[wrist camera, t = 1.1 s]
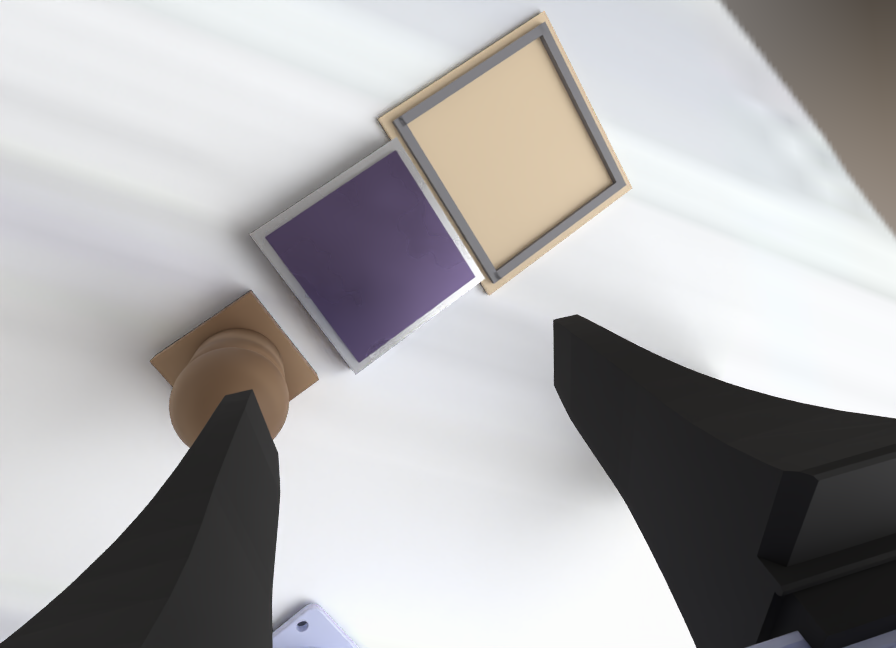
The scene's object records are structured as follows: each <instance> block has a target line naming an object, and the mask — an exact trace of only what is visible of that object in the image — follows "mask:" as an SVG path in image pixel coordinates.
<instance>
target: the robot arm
mask: <svg viewBox="0 0 896 648" xmlns="http://www.w3.org/2000/svg"><path fill="white" fill-rule="evenodd" d="M553 330H554V386H555V388H556V391H557V393H558V395H559V397H560V399H561V401H562V403H563V405H564V407H565V409H566V411H567V413H568V415H569V417H570V419H571V421H572V422H573V424H574V425H575V427H576V428H577V430H578V431H579V433H580V434H581V436H582V437H583V439H584V440H585V442H586V443H587V445H588V446H589V448H590V449H591V451H592V452H593V454H594V455H595V457H596V458H597V460H598V461H599V463H600V464H601V466H602V467H603V469H604V470H605V472H606V473H607V475H608V476H609V478H610V479H611V481H612V482H613V483H614V485H615V486H616V488H617V489H618V491H619V493H620V494H621V496H622V498H623V499H624V501H625V503H626V504H627V506H628V508H629V510H630V512H631V514H632V515H633V517H634V519H635V521H636V523H637V525H638V527H639V529H640V531H641V532H642V534H643V536H644V538H645V540H646V542H647V544H648V546H649V548H650V550H651V552H652V554H653V556H654V558H655V560H656V562H657V564H658V566H659V568H660V570H661V572H662V574H663V576H664V578H665V580H666V582H667V584H668V586H669V589H670V591H671V593H672V595H673V597H674V599H675V601H676V603H677V606H678V608H679V610H680V612H681V614H682V616H683V618H684V620H685V623H686V625H687V627H688V629H689V632H690V634H691V636H692V638H693V641H694V643H695V645H696V648H896V419H895V418H888V417H881V416H874V415H867V414H860V413H853V412H846V411H840V410H834V409H829V408H824V407H819V406H814V405H809V404H804V403H799V402H795V401H791V400H787V399H782V398H778V397H774V396H771V395H767V394H763V393H760V392H756V391H752V390H749V389H745V388H742V387H739V386H736V385H732V384H729V383H726V382H724V381H721V380H718V379H715V378H712V377H709V376H707V375H704V374H701V373H698V372H696V371H693V370H691V369H688V368H686V367H683V366H681V365H679V364H677V363H674V362H672V361H670V360H667V359H665V358H663V357H661V356H658V355H656V354H654V353H652V352H650V351H648V350H646V349H644V348H642V347H640V346H638V345H636V344H634V343H632V342H630V341H628V340H626V339H624V338H622V337H620V336H618V335H616V334H614V333H613V332H611V331H609V330H607V329H605V328H603V327H601V326H599V325H597V324H595V323H594V322H592V321H590V320H588V319H586V318H584V317H581V316H579V315H572V316H568V317H564V318H559V319H555V320H553ZM279 503H280V476H279V459H278V452H277V449H276V447H275V444H274V442H273V439H272V437H271V434H270V432H269V429H268V427H267V424H266V422H265V419H264V417H263V414H262V412H261V409H260V407H259V404H258V402H257V399H256V397H255V394H254V392H253V389H251V390H246V391H242V392H237V393H233V394H229V395H225V396H224V398H223V399H222V401H221V402H220V403H219V405H218V406H217V408H216V409H215V411H214V412H213V414H212V415H211V417H210V419H209V420H208V422H207V423H206V425H205V426H204V428H203V429H202V431H201V432H200V434H199V435H198V437H197V438H196V440H195V441H194V443H193V444H192V446H191V447H190V449H189V450H188V452H187V453H186V455H185V456H184V457H183V459H182V460H181V462H180V463H179V465H178V466H177V467H176V469H175V470H174V471H173V473H172V474H171V475H170V477H169V478H168V479H167V481H166V482H165V483H164V485H163V486H162V487H161V489H160V490H159V491H158V492H157V494H156V495H155V496H154V498H153V499H152V500H151V501H150V502H149V504H148V505H147V506H146V507H145V508H144V510H143V511H142V512H141V513H140V514H139V515H138V517H137V518H136V519H135V520H134V521H133V522H132V523H131V524H130V525H129V527H128V528H127V529H126V530H125V531H124V532H123V533H122V534H121V535H120V536H119V538H118V539H117V540H116V541H115V542H114V543H113V544H112V545H111V546H110V547H109V548H108V549H107V550H106V551H105V552H104V553H103V554H102V555H101V556H100V557H99V558H97V559H96V560H95V561H94V562H93V563H92V564H91V565H90V566H89V567H88V568H87V569H86V570H85V571H84V572H83V573H82V574H81V575H80V576H79V577H78V578H77V579H76V580H75V581H74V582H73V583H72V584H71V585H69V586H68V587H67V588H66V589H65V590H64V591H63V592H62V593H60V594H59V595H58V596H57V597H56V598H55V599H54V600H53V601H51V602H50V603H49V604H48V605H47V606H46V607H45V608H43V609H42V610H41V611H40V612H39V613H37V614H36V615H35V616H34V617H33V618H31V619H30V620H29V621H28V622H27V623H25V624H24V625H23V626H22V627H21V628H19V629H18V630H17V631H16V632H14V633H13V634H12V635H11V636H9V637H8V638H7V639H6V640H4V641H3V642H2V643H0V648H359V647H358V646H357V645H356V644H355V643H354V642H353V640H352V639H351V638H350V637H349V636H348V635H347V634H346V633H345V632H344V631H343V630H342V629H341V628H340V627H339V626H338V625H337V623H336V622H335V621H334V620H333V619H332V618H331V617H330V616H329V615H328V614H327V613H326V612H325V611H324V610H323V609H322V607H321V606H319V605H318V604H308V605H307V606H305V607H303V608H302V609H301V610H300V611H299V612H297V613H296V614H295V615H294V616H292V617H291V618H290V619H289V620H288V621H286V622H285V623H284V624H283V625H281V626H280V627H279V628H278V629H276V630H275V631H274V632H273V633H272V588H273V575H274V563H275V551H276V540H277V528H278V516H279ZM301 621H306V622H307V623H306V624H305V625H303V626H298V625H297V624H298V623H299V622H301Z"/></svg>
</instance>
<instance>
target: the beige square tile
mask: <svg viewBox="0 0 896 648" xmlns="http://www.w3.org/2000/svg"><path fill="white" fill-rule="evenodd" d="M378 121H379V122H380V124H381V125H382V127H383V129H384V130H385V132H386V133H387V135H388V137H389V138H390V140H392V139H394V138H396V137H397V138H398V140H399V141H400V143H401V145H402V146H403V148H404V149H405V151H406V153H407V154H408V156H409V157H410V159H411V161H412V162H413V164H414V166H415V167H416V169H417V170H418V172H419V174H420V175H421V177H422V178H423V180H424V182H425V183H426V185H427V186H428V188H429V190H430V191H431V193H432V194H433V196H434V198H435V199H436V201H437V202H438V204H439V206H440V207H441V209H442V210H443V212H444V214H445V215H446V217H447V218H448V220H449V222H450V223H451V225H452V226H453V228H454V230H455V231H456V233H457V234H458V236H459V238H460V239H461V241H462V242H463V244H464V246H465V247H466V249H467V251H468V252H469V254H470V255H471V257H472V259H473V260H474V262H475V263H476V265H477V267H478V268H479V270H480V271H481V273H482V275H483V276H484V278H485V279H484V280H483V281H481V282H480V283H481V285H482V286H483V288H484V289H485V291H486V292H487V294H488V295H491V294H492V293H493V292H495V291H496V290H497V289H499V288H500V287H501V286H503V285H504V284H505V283H507V282H508V281H509V280H511V279H512V278H513V277H515V276H516V275H517V274H519V273H520V272H521V271H523V270H524V269H525V268H527V267H528V266H529V265H531V264H532V263H533V262H535V261H536V260H537V259H539V258H540V257H541V256H543V255H544V254H545V253H547V252H548V251H549V250H551V249H552V248H553V247H555V246H556V245H557V244H559V243H560V242H561V241H563V240H564V239H565V238H567V237H568V236H569V235H571V234H572V233H573V232H575V231H576V230H577V229H579V228H580V227H581V226H583V225H584V224H585V223H587V222H588V221H589V220H591V219H592V218H593V217H594V216H596V215H597V214H598V213H600V212H601V211H602V210H604V209H605V208H606V207H608V206H609V205H610V204H612V203H613V202H614V201H616V200H617V199H618V198H620V197H621V196H622V195H624V194H625V193H626V192H628V191H629V190H630V189H632V186H631V184H630V182H629V180H628V178H627V176H626V174H625V172H624V170H623V168H622V166H621V164H620V162H619V160H618V158H617V156H616V154H615V152H614V150H613V148H612V146H611V144H610V142H609V140H608V138H607V136H606V134H605V132H604V130H603V128H602V126H601V124H600V122H599V120H598V118H597V116H596V114H595V112H594V110H593V108H592V106H591V104H590V102H589V100H588V98H587V96H586V94H585V92H584V90H583V88H582V85H581V83H580V81H579V79H578V77H577V75H576V73H575V71H574V69H573V67H572V65H571V63H570V61H569V59H568V57H567V55H566V53H565V51H564V49H563V47H562V45H561V43H560V41H559V39H558V37H557V35H556V33H555V31H554V29H553V27H552V25H551V23H550V21H549V19H548V17H547V15H546V13H545V11H543V12H542V13H540V14H539V15H537V16H535V17H534V18H532V19H531V20H529V21H528V22H526V23H525V24H523V25H522V26H520V27H519V28H517V29H515V30H514V31H512V32H511V33H509V34H508V35H506V36H505V37H503V38H502V39H500V40H499V41H497V42H495V43H494V44H492V45H491V46H489V47H488V48H486V49H485V50H483V51H482V52H480V53H479V54H477V55H475V56H474V57H472V58H471V59H469V60H468V61H466V62H465V63H463V64H462V65H460V66H459V67H457V68H456V69H454V70H452V71H451V72H449V73H448V74H446V75H445V76H443V77H442V78H440V79H439V80H437V81H436V82H434V83H432V84H431V85H429V86H428V87H426V88H425V89H423V90H422V91H420V92H419V93H417V94H416V95H414V96H412V97H411V98H409V99H408V100H406V101H405V102H403V103H402V104H400V105H399V106H397V107H396V108H394V109H393V110H391V111H389V112H388V113H386V114H385V115H383V116H382V117H380V118H379V119H378Z"/></svg>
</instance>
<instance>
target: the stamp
mask: <svg viewBox="0 0 896 648" xmlns="http://www.w3.org/2000/svg"><path fill="white" fill-rule="evenodd" d="M150 362H151V364H152V365H153V366H154V367H155V368H156V369H157V370H158V371H159V372H160V374H161V375H162V376H163V377H164V378H165V379H166V380H167V381H168V382H169V384H170V385H171V386H172V387H173V388H172V391H171V395H170V400H169V411H170V418H171V422H172V425H173V427H174V430H175V431H176V433H177V435H178V436H179V437H180V439H181V440H182V441H183V442H184V443H185V444H186V445H187V446H188V447H189V448H190V447H191V446H192V444H193V443H194V441H195V440H196V438H197V437H198V435H199V434H200V432H201V431H202V429H203V428H204V426H205V425H206V423H207V422H208V420H209V419H210V417H211V415H212V414H213V412H214V411H215V409H216V408H217V406H218V405H219V403H220V402H221V401H222V399H223V398H224V396H225V395H229V394H233V393H237V392H242V391H246V390H251V389H253V392H254V394H255V397H256V399H257V402H258V404H259V407H260V409H261V412H262V414H263V417H264V419H265V422H266V424H267V427H268V429H269V432H270V434H271V437H272V439H274V438H275V437H276V436H277V434H278V433H279V432H280V430H281V428H282V426H283V425H284V423H285V420H286V417H287V414H288V408H289V401H291V400H292V399H293V398H295V397H296V396H297V395H299V394H300V393H301V392H303V391H304V390H306V389H307V388H308V387H310V386H311V385H312V384H314V383H315V382H316V381H318V380H319V379H318V376H317V374H316V372H315V371H314V370H313V368H312V367H311V366H310V364H309V363H308V362H307V361H306V359H305V358H304V357H303V356H302V354H301V353H300V352H299V350H298V349H297V348H296V347H295V345H294V344H293V343H292V342H291V340H290V339H289V338H288V336H287V335H286V334H285V333H284V331H283V330H282V329H281V327H280V326H279V325H278V324H277V322H276V321H275V320H274V319H273V317H272V316H271V315H270V313H269V312H268V311H267V310H266V308H265V307H264V306H263V305H262V303H261V302H260V301H259V299H258V298H257V297H256V296H255V294H254V293H253V292H252V291H251V290H250V291H249V292H247V293H246V294H245V295H243V296H242V297H240V298H239V299H237V300H236V301H234V302H233V303H231V304H230V305H228V306H227V307H225V308H224V309H223V310H221V311H220V312H218V313H217V314H215V315H214V316H212V317H211V318H209V319H208V320H206V321H205V322H204V323H202V324H201V325H199V326H198V327H196V328H195V329H193V330H192V331H190V332H189V333H187V334H186V335H184V336H183V337H182V338H180V339H179V340H177V341H176V342H174V343H173V344H171V345H170V346H168V347H167V348H165V349H164V350H163V351H161V352H160V353H158V354H157V355H155V356H154V357H153V358H152V360H151V361H150Z"/></svg>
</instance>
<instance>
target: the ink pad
mask: <svg viewBox="0 0 896 648" xmlns="http://www.w3.org/2000/svg"><path fill="white" fill-rule="evenodd" d="M249 235H250V236H251V237H252V239H253V240H254V241H255V243H256V244H257V245H258V247H259V248H260V249H261V251H262V252H263V253H264V255H265V256H266V257H267V259H268V260H269V261H270V263H271V264H272V265H273V266H274V268H275V269H276V270H277V272H278V273H279V274H280V276H281V277H282V278H283V280H284V281H285V282H286V284H287V285H288V286H289V288H290V289H291V290H292V292H293V293H294V294H295V295H296V297H297V298H298V299H299V301H300V302H301V303H302V305H303V306H304V307H305V309H306V310H307V311H308V313H309V314H310V315H311V317H312V318H313V319H314V321H315V322H316V323H317V324H318V326H319V327H320V328H321V330H322V331H323V332H324V334H325V335H326V336H327V338H328V339H329V340H330V342H331V343H332V344H333V346H334V347H335V348H336V350H337V351H338V352H339V354H340V355H341V356H342V357H343V359H344V360H345V361H346V363H347V364H348V365H349V367H350V368H351V369H352V371H353V372H354V373H355V375H356V374H357V373H359V372H360V371H361V370H363V369H364V368H365V367H367V366H368V365H369V364H371V363H372V362H373V361H375V360H376V359H377V358H379V357H380V356H381V355H383V354H384V353H386V352H387V351H388V350H390V349H391V348H392V347H394V346H395V345H396V344H398V343H399V342H400V341H402V340H403V339H404V338H406V337H407V336H408V335H410V334H411V333H412V332H414V331H415V330H417V329H418V328H419V327H421V326H422V325H423V324H425V323H426V322H427V321H429V320H430V319H431V318H433V317H434V316H435V315H437V314H438V313H439V312H441V311H442V310H443V309H445V308H446V307H447V306H449V305H450V304H452V303H453V302H454V301H456V300H457V299H458V298H460V297H461V296H462V295H464V294H465V293H466V292H468V291H469V290H470V289H472V288H473V287H474V286H476V285H477V284H478V283H480V282H481V281H483V280H484V279H485V278H484V276H483V275H482V273H481V271H480V270H479V268H478V267H477V265H476V263H475V262H474V260H473V259H472V257H471V255H470V254H469V252H468V251H467V249H466V247H465V246H464V244H463V242H462V241H461V239H460V238H459V236H458V234H457V233H456V231H455V230H454V228H453V226H452V225H451V223H450V222H449V220H448V218H447V217H446V215H445V214H444V212H443V210H442V209H441V207H440V206H439V204H438V202H437V201H436V199H435V198H434V196H433V194H432V193H431V191H430V190H429V188H428V186H427V185H426V183H425V182H424V180H423V178H422V177H421V175H420V174H419V172H418V170H417V169H416V167H415V166H414V164H413V162H412V161H411V159H410V157H409V156H408V154H407V153H406V151H405V149H404V148H403V146H402V145H401V143H400V141H399V140H398V138H397V137H396V138H394V139H392V140H391V141H389V142H388V143H386V144H385V145H383V146H382V147H380V148H379V149H377V150H376V151H374V152H373V153H371V154H370V155H368V156H367V157H365V158H364V159H362V160H361V161H359V162H358V163H356V164H355V165H353V166H352V167H350V168H349V169H347V170H346V171H344V172H343V173H341V174H340V175H338V176H337V177H335V178H334V179H332V180H331V181H329V182H328V183H326V184H325V185H323V186H322V187H320V188H318V189H317V190H315V191H314V192H312V193H311V194H309V195H308V196H306V197H305V198H303V199H302V200H300V201H299V202H297V203H296V204H294V205H293V206H291V207H290V208H288V209H287V210H285V211H284V212H282V213H281V214H279V215H278V216H276V217H275V218H273V219H272V220H270V221H269V222H267V223H266V224H264V225H263V226H261V227H260V228H258V229H257V230H255V231H254V232H252V233H251V234H249Z"/></svg>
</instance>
